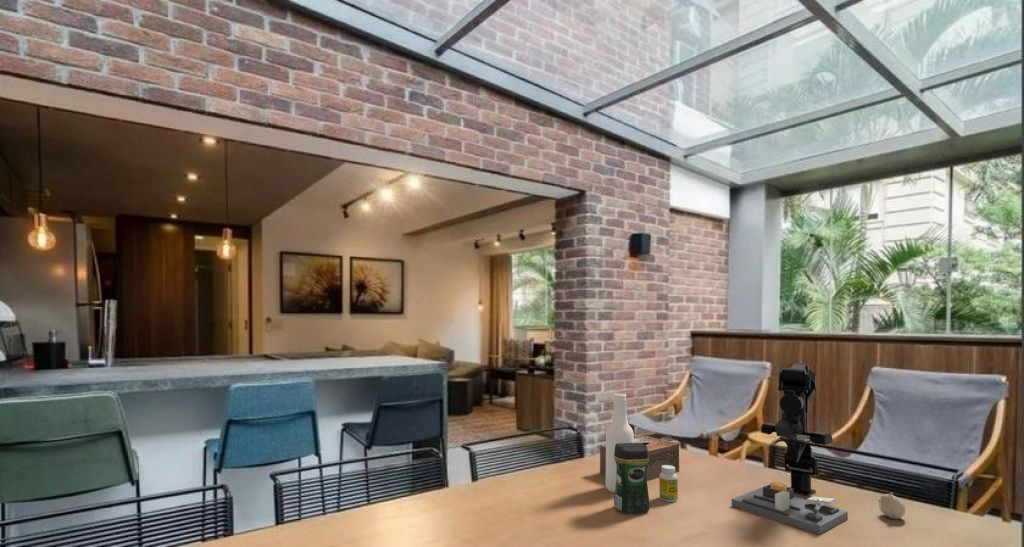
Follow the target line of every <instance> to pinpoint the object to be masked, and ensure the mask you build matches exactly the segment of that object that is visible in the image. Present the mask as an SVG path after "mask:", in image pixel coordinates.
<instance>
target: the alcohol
mask: <svg viewBox="0 0 1024 547" xmlns="http://www.w3.org/2000/svg"><path fill="white" fill-rule="evenodd" d="M634 433H635V432H634V430H633V428H632V426H630V424H629V422H628V412H627V394H626V393H618V392H617V393H616V392H615V393H614V394H613V410H612V420H611V423H610V424H609V425H608V427H607V428H606V432H605V444H606V476H605V488H606V490H607V491H608V492H610V493H613V494H615V487H616V475H617V466H616V461H615V459H614V452H615V445H616V444H617V443H634V438H635V435H634Z"/></svg>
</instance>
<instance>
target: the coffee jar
mask: <svg viewBox="0 0 1024 547" xmlns="http://www.w3.org/2000/svg"><path fill="white" fill-rule="evenodd" d="M614 459H615V461H616V466H617V475H616V487H615V493H614V499H613V501H614V503H613V506H614V507H615V509H616V510H617V511H618V512H620V513H623V514H641V513H644V514H645V513H648V512H649V510H650V506H651V505H650V497H649V496H650V494H649V487H648V481H647V464H648V461H649V456H648V449H647V446H646V445H644V444H642V443H617V444H616V445H615V452H614Z"/></svg>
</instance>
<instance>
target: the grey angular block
mask: <svg viewBox="0 0 1024 547" xmlns="http://www.w3.org/2000/svg"><path fill="white" fill-rule="evenodd" d="M789 508H790V502H789V492H787V491H781V492H779V493H776V494H775V509H777V510H780V511H785V510H787V509H789Z"/></svg>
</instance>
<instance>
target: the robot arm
mask: <svg viewBox="0 0 1024 547" xmlns="http://www.w3.org/2000/svg"><path fill="white" fill-rule="evenodd" d="M790 366H791V367H782V368H781V370H780V371H779V373H778V374H779V377H778V391H779V392H780V391H781V392H783V395H782V396H781V398H780V400H779V408H780V410H782V411H783V412H782V413H781V419H779V420H778V421H777V422H770V421H769V422H765V423H762V424H761V425H760V433H761V434H766V435H772V434H773V433H775V435H776V436H777V437H779V439H780V440H781V441H783V442H784V443H785V444H786V451H784V455H783V456H784V471H785V472H790V486H788V487H789V488H793V489H794V494H795V493H796V494H798V495H799V494H800V495H803V496H810V495H812V494H814V493H816V491H817V490H816V489H812V476H818V475H819V468H818V466H819V464H818V460H817V459H816V455H814V453H813V448H812V447H811V445H810V443H812V444H816V445H820V446H826V445H829V444H833V435H832V434H831V433H830V432H826V431H820V430H814V431H812V432H809V405H810V404H809V403H810V402H811V401H812V400H813V399H814V397H815V391H817V389H818V388H817V376H816V373H815V372H814V371H812V370H811V369H810V367H809V364H807V363H801V362H800V363H799V362H794V363H791V365H790Z"/></svg>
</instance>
